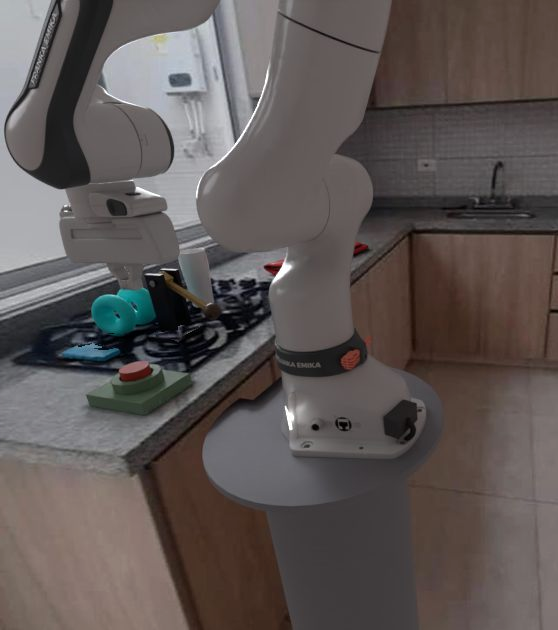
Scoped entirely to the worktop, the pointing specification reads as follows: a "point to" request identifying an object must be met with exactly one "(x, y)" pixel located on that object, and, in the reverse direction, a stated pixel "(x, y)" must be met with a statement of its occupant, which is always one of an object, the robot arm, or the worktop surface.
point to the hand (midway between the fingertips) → (132, 289)
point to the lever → (193, 298)
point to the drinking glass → (196, 273)
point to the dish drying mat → (277, 265)
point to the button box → (140, 391)
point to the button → (135, 371)
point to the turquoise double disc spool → (123, 311)
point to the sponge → (90, 353)
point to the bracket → (168, 305)
